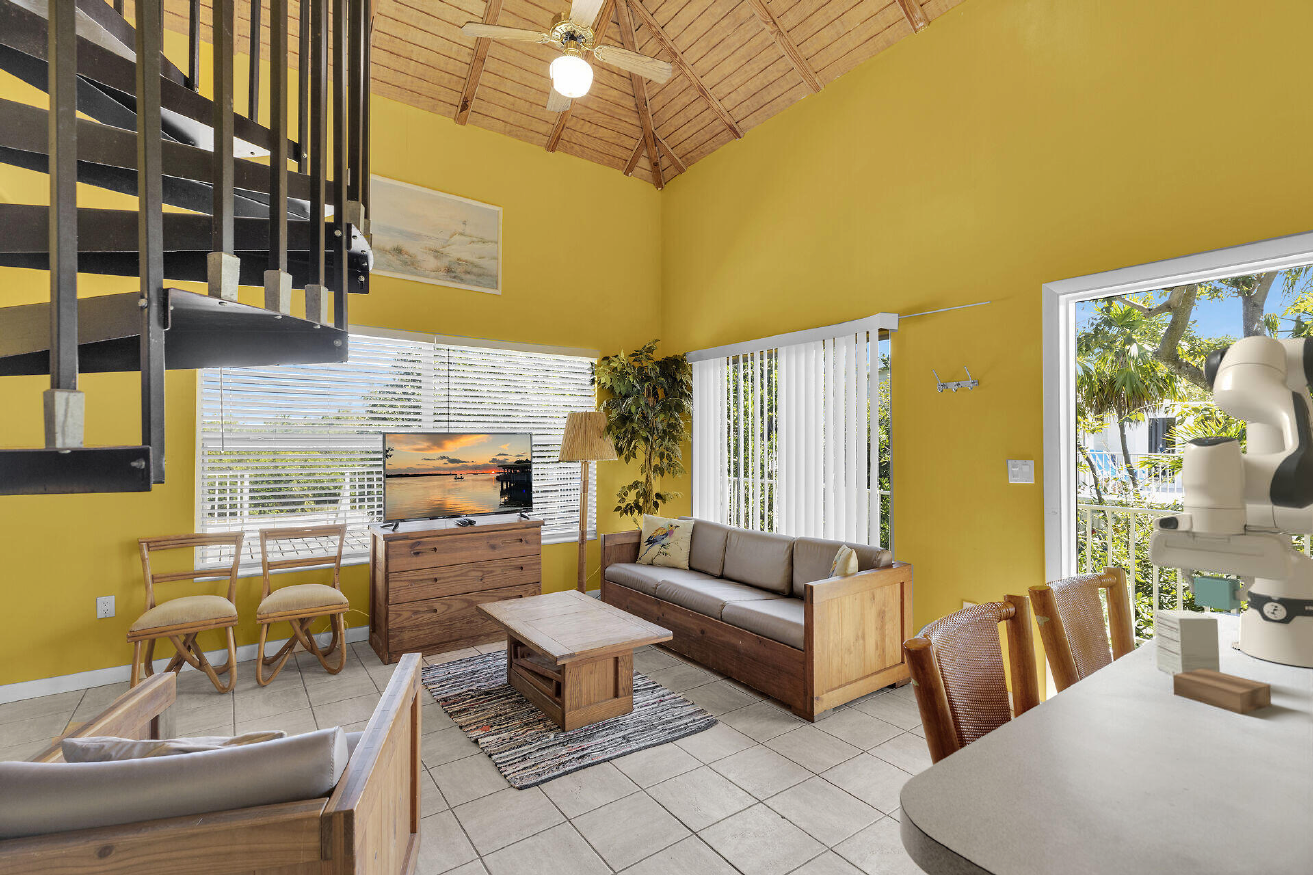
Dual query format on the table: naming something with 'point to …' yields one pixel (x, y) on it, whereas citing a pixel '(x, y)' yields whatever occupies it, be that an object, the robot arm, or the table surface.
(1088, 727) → the table surface
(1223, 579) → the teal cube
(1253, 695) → the walnut block
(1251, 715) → the table surface
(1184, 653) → the supplement box
